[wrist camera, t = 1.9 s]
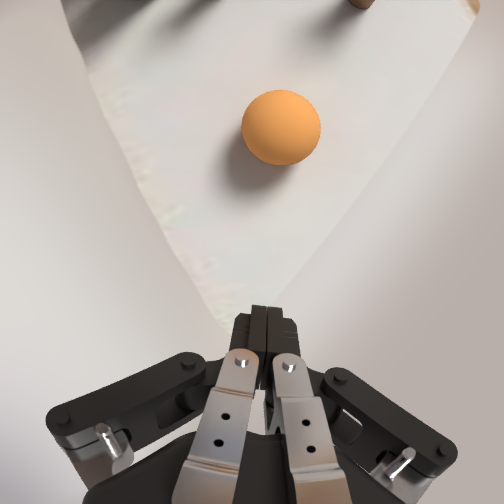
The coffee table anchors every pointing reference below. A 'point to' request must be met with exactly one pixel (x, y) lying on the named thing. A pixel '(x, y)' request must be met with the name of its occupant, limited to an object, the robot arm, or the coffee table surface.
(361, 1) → the post
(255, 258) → the coffee table surface
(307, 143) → the ball
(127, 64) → the coffee table surface
